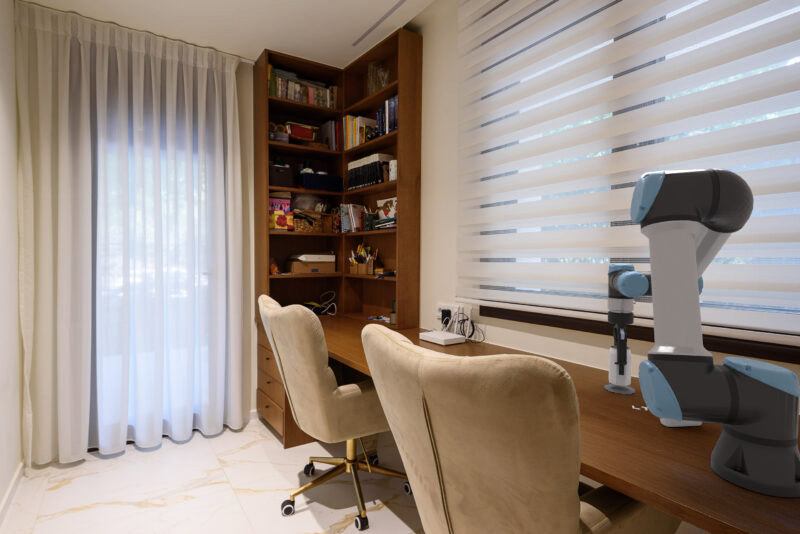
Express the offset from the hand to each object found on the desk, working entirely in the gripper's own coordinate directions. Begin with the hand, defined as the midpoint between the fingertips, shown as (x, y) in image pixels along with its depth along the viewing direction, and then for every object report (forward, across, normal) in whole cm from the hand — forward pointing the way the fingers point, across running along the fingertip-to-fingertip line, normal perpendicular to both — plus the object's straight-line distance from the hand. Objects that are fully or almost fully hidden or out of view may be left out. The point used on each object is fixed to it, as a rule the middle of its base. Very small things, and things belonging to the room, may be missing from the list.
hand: (619, 381), depth 140 cm
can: (+1, 0, 0) cm, 1 cm away
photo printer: (+3, -25, -12) cm, 28 cm away
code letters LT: (+3, -16, -4) cm, 17 cm away
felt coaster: (+3, 0, 0) cm, 3 cm away
